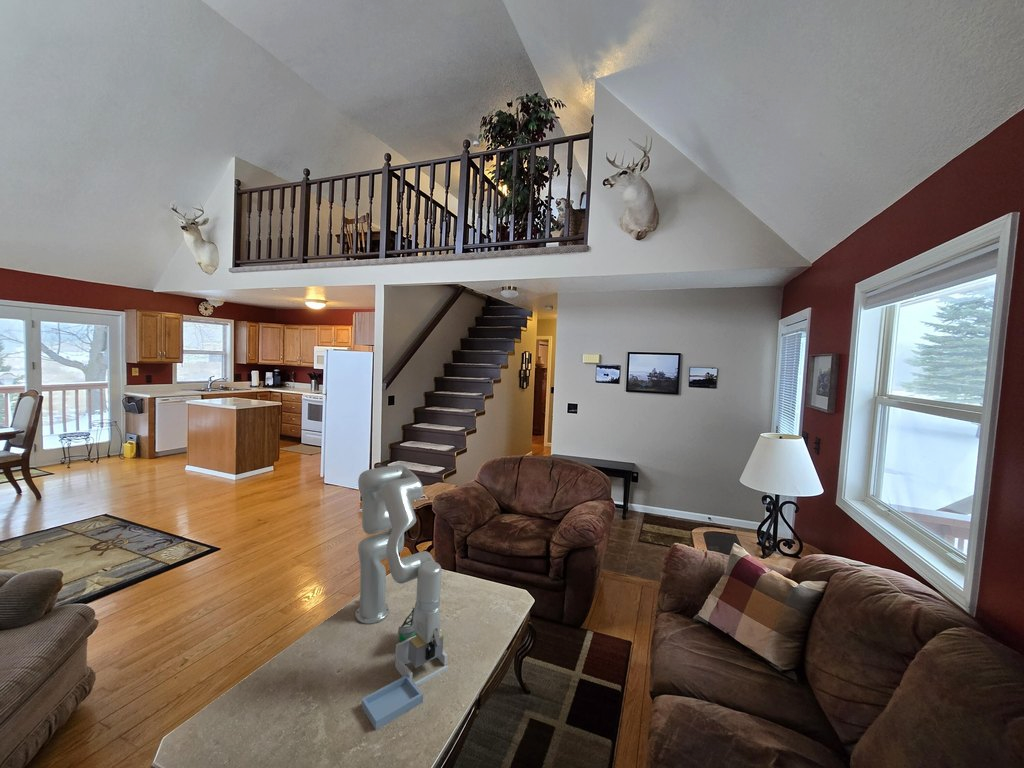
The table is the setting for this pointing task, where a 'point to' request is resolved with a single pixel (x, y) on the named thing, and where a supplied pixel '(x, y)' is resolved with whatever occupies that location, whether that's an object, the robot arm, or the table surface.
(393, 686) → the tray
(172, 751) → the table surface
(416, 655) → the yellow-topped block
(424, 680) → the bay
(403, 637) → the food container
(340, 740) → the table surface
